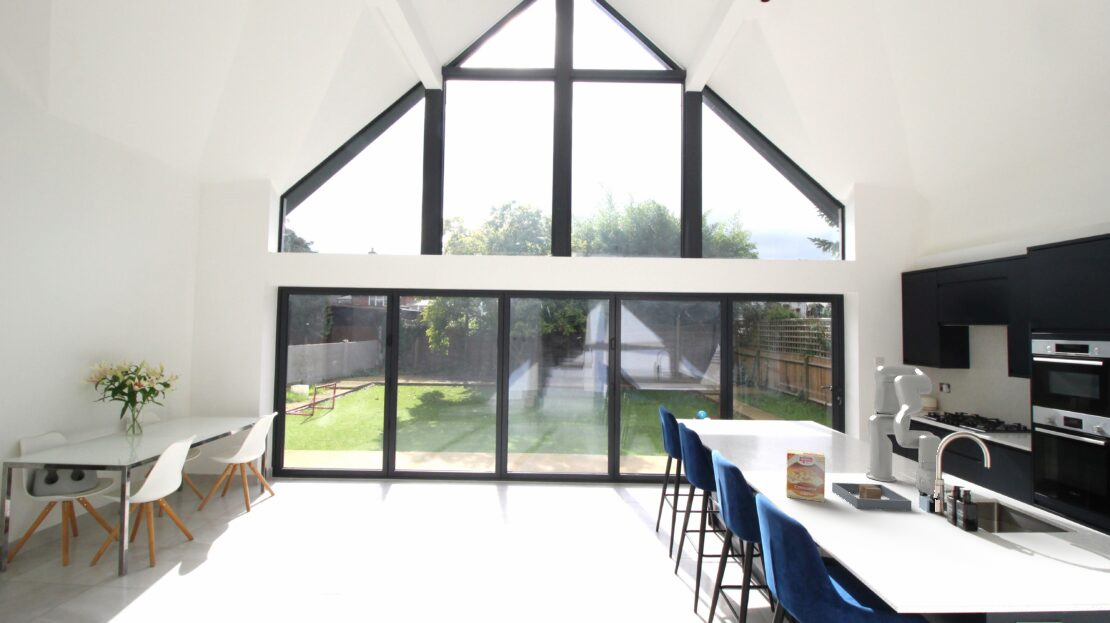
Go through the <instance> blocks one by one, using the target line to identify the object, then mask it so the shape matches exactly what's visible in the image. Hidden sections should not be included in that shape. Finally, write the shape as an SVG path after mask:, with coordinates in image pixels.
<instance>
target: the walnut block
mask: <svg viewBox="0 0 1110 623" xmlns="http://www.w3.org/2000/svg"><path fill="white" fill-rule="evenodd" d="M858 484H859V493H858V498H863V499H882V494H881V489H880V488H878V487H876V486H874V485H862V484H863V483H858Z"/></svg>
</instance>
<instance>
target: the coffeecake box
mask: <svg viewBox="0 0 1110 623" xmlns="http://www.w3.org/2000/svg"><path fill="white" fill-rule="evenodd" d="M785 465H786V466H785V467H786V472H785V475H786V476H785V477H786V478H785V479H786V480H785V495H786V498H790V497H791V498H792V499H798V500H805V499H806V500H807V501H812V500H813V502H819V501H821V503H824V502H825V485H826V484H825V483H826V479H825V478H826V476H825V475H826V456H825V454H824V453H822V452H812V451H803V450H793V449H786V464H785ZM806 500H805V501H806Z"/></svg>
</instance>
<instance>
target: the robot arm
mask: <svg viewBox="0 0 1110 623" xmlns="http://www.w3.org/2000/svg"><path fill="white" fill-rule="evenodd" d="M874 380H875V386H876V387H875V392H874V393H875V394H874V400H873V408H874V410H875V412H877V413H876V414H871V415H869V417H868V418H867V427H868V432H869V466H868V467H867V469H868V470H869V472H868V471H867V472H866V473H865V476H866V477H867V478H869V479H872V480H875V481H880V482H888V483H892V482H895V481H897V477H896V476H894V475H893V442H892V440H891V439H890V438H889V437H888V435H894V437H895V439H896V442H897V444H898V445H899V446H900V447H902V448H906V449H918V459H917V460H918V465H917V468H916V474H915V489H916V490H918V493H919V495H918V496H930V500H931V502H929V511H930V512H929V513H935V499H936V500H940V499H941V500H942V499H944V495H943V494H942V495H941V494H940V493H938V496H937V498H935V496H934V494H935V492H934V490H935V480H936V455H937V450H938V447H939V444H940V443H941V444H942V440H941V438H940V437H939V436H937V435H934V433H933V432H931V431H927V430H915V429H911V430H910V425H911V419H912V415H913V414H917V413H920V412H921V411H922V410H923V408H924V405H923V402H922V398H921V395H928V394H931V392H932V390H933V383H932V381H931V378H930V377H929V376H928V375H927V374H926V372H923V371H922V370H921V369H920V368H919V367H917V366H913V365H910V366H909V365H897V364H896V365H895V364H894V365H893V364H891V365H889V364H888V365H887V364H885V365H884V364H882V365H878V366H877V367H876V368H875V369H874ZM920 394H921V395H920ZM933 497H934V499H933ZM941 500H940V501H941Z"/></svg>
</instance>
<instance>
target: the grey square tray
mask: <svg viewBox="0 0 1110 623" xmlns="http://www.w3.org/2000/svg"><path fill="white" fill-rule="evenodd" d="M859 484H860V483H857V482H856V483H854V482H853V483H851V482H832V484H831V491H833V492H832V493H834V494H835V493H836V494H835V495H836V496H838V495H839V496H838V497H840V498H841V497H842V498H843V500H844V499H845V500H846V501H845V500H844V501H845V502H847V503H848V502H849V505H851V504H852V505H851V506H853V507H854V508H855V509H858V510H859V509H861V510H879V509H881V510H880V511H903V510H906V511H908V512H911V511H912V500H911V499H908V498H907V497H905V496H903V495H901V494H899V493H897V492H896V491H894V490H892V489H891V488H889V487H887V486H885V485H883V484H881V483H880V484H879V483H877V484H876V483H861V484H862V485H874V486H876V487H878V488H880V489H881V496H883V497H884V498H887V499H883V498H881V499H863V498H859V497H857V496H856V495H854V494H859ZM849 492H855V493H854V494H853V493H849ZM842 498H841V499H842ZM888 498H889V499H888ZM906 511H905V512H906Z"/></svg>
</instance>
